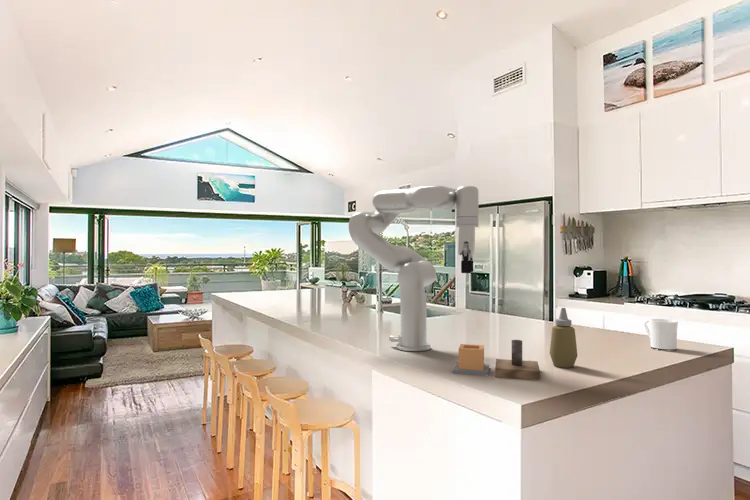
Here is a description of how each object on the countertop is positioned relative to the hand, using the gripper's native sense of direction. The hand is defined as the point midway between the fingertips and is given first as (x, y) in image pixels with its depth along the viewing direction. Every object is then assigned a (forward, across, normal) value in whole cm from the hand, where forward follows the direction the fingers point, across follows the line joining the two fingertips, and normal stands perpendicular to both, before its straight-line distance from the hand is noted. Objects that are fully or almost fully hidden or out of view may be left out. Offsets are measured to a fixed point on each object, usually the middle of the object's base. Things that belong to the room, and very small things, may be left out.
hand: (467, 272), depth 164 cm
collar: (+27, +21, +3) cm, 35 cm away
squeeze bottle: (+28, +8, +30) cm, 42 cm away
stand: (+28, +21, +16) cm, 39 cm away
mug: (+28, -30, +67) cm, 79 cm away
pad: (+28, +21, +3) cm, 35 cm away
